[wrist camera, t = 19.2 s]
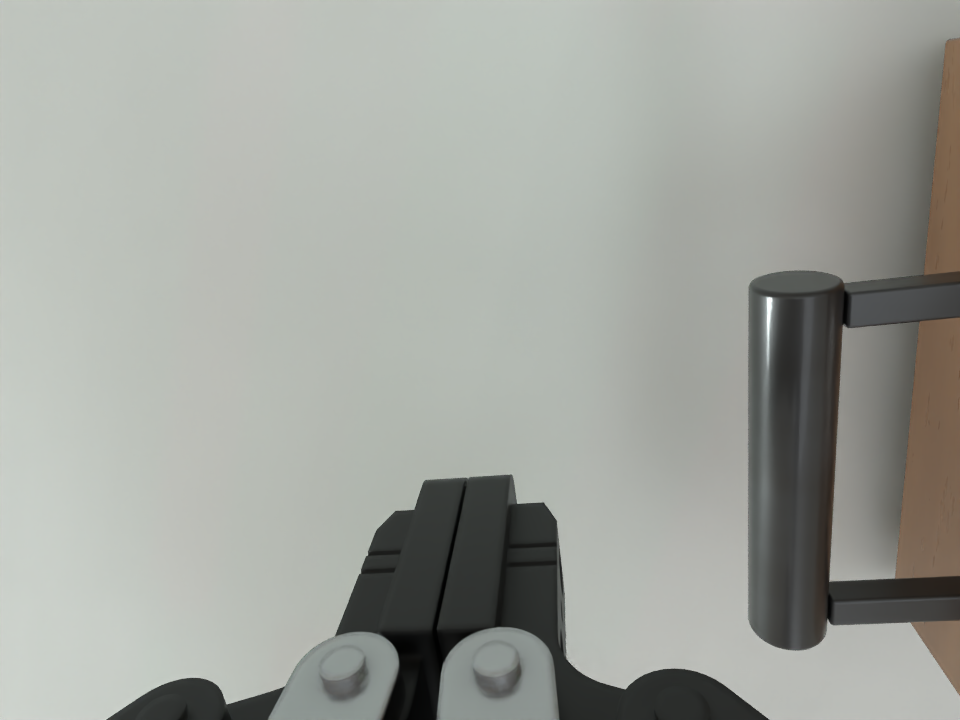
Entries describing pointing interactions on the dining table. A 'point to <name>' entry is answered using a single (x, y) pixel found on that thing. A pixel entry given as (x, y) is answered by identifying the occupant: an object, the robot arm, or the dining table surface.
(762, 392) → the drawer
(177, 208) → the dining table surface
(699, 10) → the dining table surface
